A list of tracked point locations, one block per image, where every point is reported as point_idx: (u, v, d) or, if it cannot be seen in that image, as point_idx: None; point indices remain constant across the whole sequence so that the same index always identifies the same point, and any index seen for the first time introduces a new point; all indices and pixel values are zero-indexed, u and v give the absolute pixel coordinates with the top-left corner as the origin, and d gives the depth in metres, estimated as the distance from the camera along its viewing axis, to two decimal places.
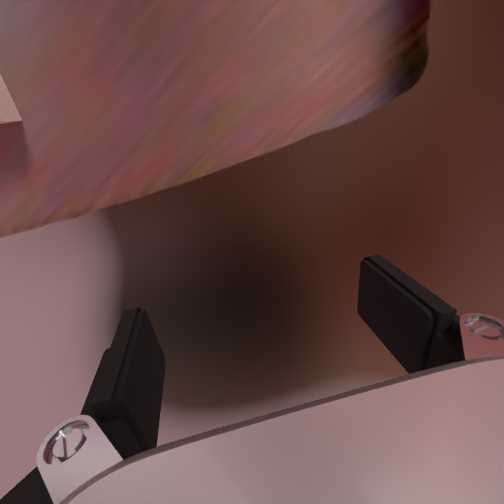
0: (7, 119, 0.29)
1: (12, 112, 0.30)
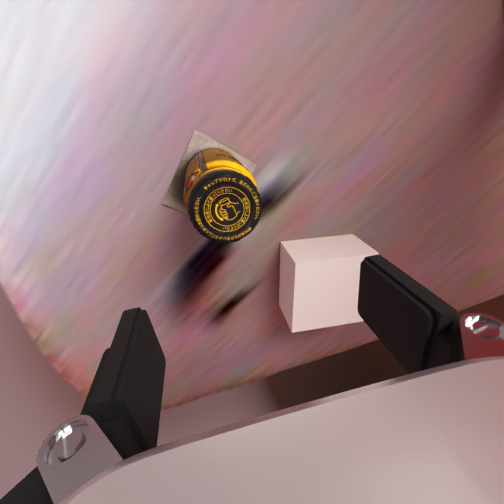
0: None
1: None
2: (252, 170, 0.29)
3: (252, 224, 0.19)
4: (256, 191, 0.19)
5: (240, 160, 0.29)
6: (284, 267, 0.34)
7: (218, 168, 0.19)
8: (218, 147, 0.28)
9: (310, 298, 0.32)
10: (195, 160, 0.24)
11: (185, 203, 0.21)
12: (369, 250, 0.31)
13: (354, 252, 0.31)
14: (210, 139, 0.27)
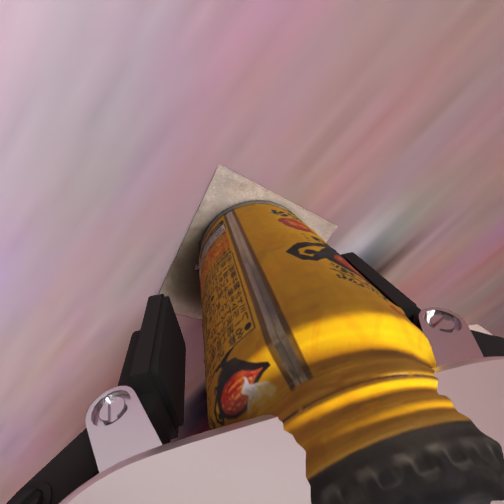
0: None
1: None
2: (328, 236, 0.15)
3: None
4: None
5: (306, 220, 0.14)
6: None
7: (369, 393, 0.04)
8: (265, 198, 0.13)
9: None
10: (228, 252, 0.10)
11: None
12: None
13: None
14: (251, 183, 0.13)
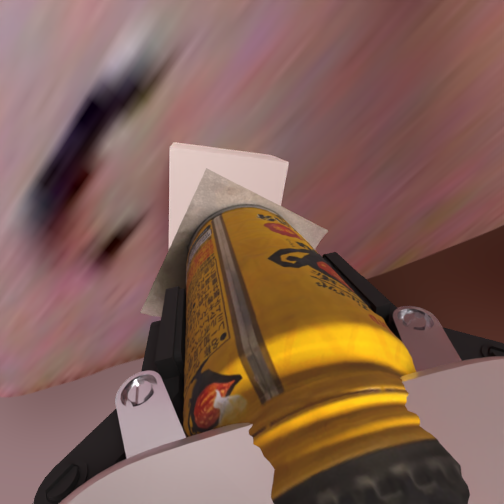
0: None
1: None
2: (318, 240, 0.15)
3: None
4: None
5: (296, 224, 0.14)
6: None
7: (337, 409, 0.04)
8: (254, 202, 0.13)
9: None
10: (211, 258, 0.09)
11: None
12: (278, 160, 0.24)
13: (257, 157, 0.23)
14: (239, 188, 0.13)
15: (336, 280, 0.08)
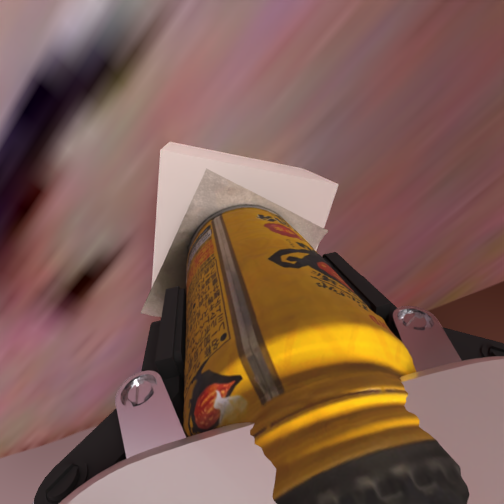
0: None
1: None
2: (318, 240, 0.15)
3: None
4: None
5: (296, 224, 0.14)
6: None
7: (337, 410, 0.04)
8: (254, 203, 0.13)
9: None
10: (211, 258, 0.09)
11: None
12: (322, 179, 0.16)
13: (293, 173, 0.16)
14: (239, 188, 0.13)
15: (336, 280, 0.08)
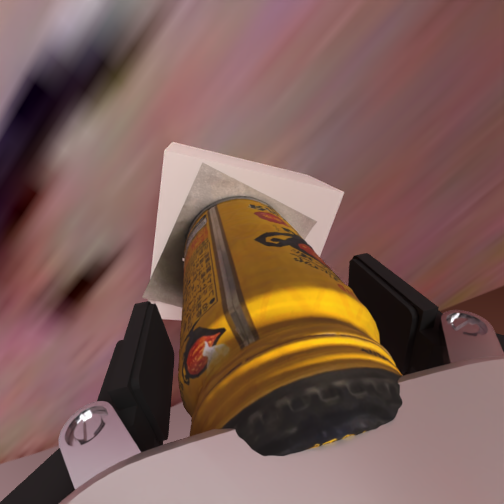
0: None
1: None
2: (308, 230, 0.16)
3: None
4: None
5: (287, 215, 0.15)
6: None
7: (299, 347, 0.05)
8: (247, 194, 0.14)
9: None
10: (206, 241, 0.10)
11: (184, 401, 0.07)
12: (327, 186, 0.16)
13: (298, 180, 0.15)
14: (233, 180, 0.14)
15: (313, 258, 0.09)
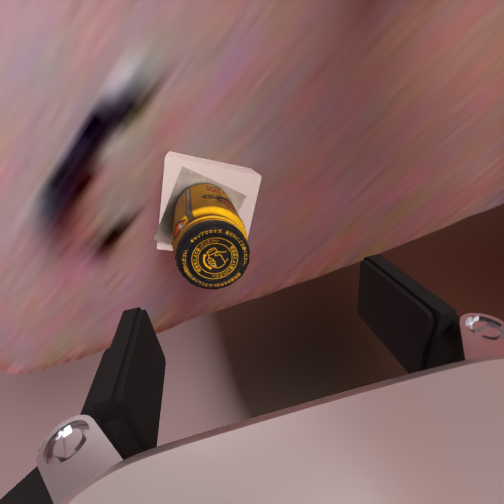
0: None
1: None
2: (242, 201, 0.29)
3: (241, 270, 0.19)
4: (243, 239, 0.19)
5: (229, 192, 0.29)
6: None
7: (204, 217, 0.19)
8: (206, 181, 0.28)
9: None
10: (183, 201, 0.24)
11: (174, 250, 0.21)
12: (254, 173, 0.29)
13: (236, 170, 0.29)
14: (198, 174, 0.27)
15: (223, 202, 0.22)
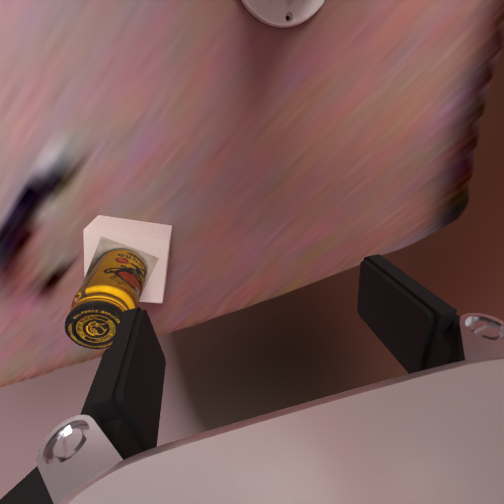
0: None
1: (165, 281, 0.43)
2: (156, 261, 0.36)
3: None
4: (117, 315, 0.25)
5: (144, 255, 0.35)
6: None
7: (90, 297, 0.25)
8: (123, 247, 0.34)
9: None
10: (93, 269, 0.30)
11: None
12: (164, 237, 0.36)
13: (148, 235, 0.35)
14: (115, 242, 0.34)
15: (119, 277, 0.28)
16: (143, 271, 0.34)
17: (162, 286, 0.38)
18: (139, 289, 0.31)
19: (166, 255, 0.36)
